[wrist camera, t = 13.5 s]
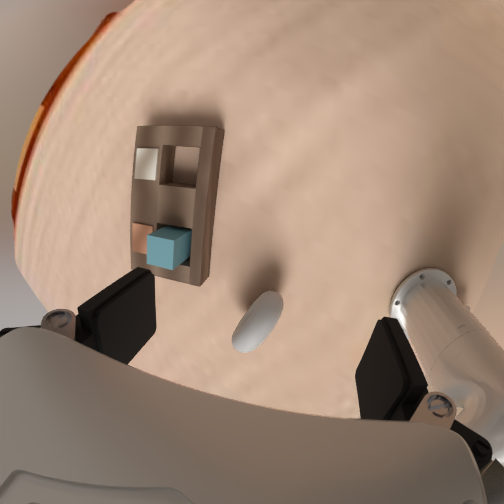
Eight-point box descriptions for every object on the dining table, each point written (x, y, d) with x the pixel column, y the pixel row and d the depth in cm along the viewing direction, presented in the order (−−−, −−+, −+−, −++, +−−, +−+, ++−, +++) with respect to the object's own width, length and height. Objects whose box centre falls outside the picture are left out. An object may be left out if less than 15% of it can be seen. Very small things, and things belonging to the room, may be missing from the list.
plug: (197, 226, 40) (174, 240, 33) (195, 251, 42) (172, 270, 34) (174, 222, 41) (147, 234, 33) (172, 246, 42) (146, 263, 35)
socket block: (224, 130, 35) (214, 126, 31) (208, 276, 42) (199, 287, 38) (151, 128, 37) (136, 125, 33) (143, 261, 44) (130, 270, 40)
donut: (272, 275, 40) (261, 307, 31) (290, 288, 40) (285, 323, 31) (236, 319, 44) (219, 356, 34) (254, 331, 44) (240, 370, 34)
